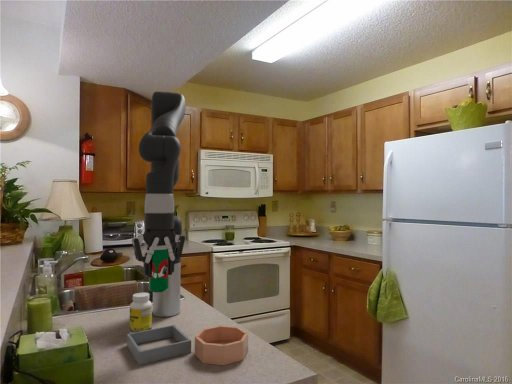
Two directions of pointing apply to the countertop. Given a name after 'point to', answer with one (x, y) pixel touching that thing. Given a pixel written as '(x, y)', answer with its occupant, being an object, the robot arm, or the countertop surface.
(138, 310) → the pill bottle
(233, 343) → the bowl
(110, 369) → the countertop surface
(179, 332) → the grey square frame
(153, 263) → the soda can
